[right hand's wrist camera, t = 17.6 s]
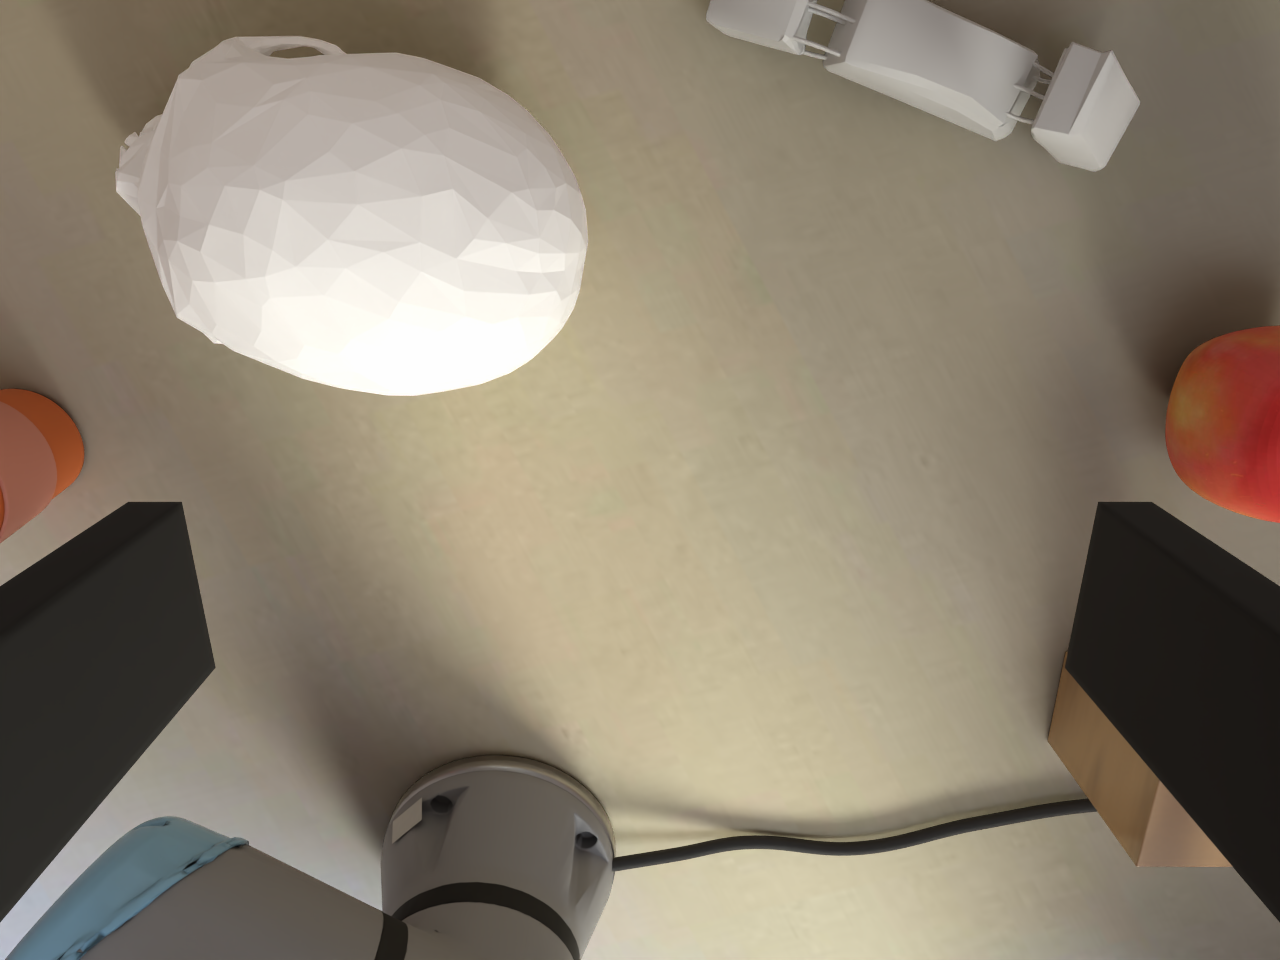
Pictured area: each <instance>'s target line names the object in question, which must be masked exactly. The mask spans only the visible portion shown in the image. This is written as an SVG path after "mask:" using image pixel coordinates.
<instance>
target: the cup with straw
mask: <svg viewBox="0 0 1280 960" xmlns="http://www.w3.org/2000/svg"><path fill="white" fill-rule="evenodd" d="M83 461H84V446H83V442H82V438H81V435H80V433H79V431H78V429H77V427H76V425H75V423H74V422H73V421H72V419H71V418H70V417H69V415H68V414H67V413H66V412H65V411H64V410H63V409H62V408H61V407H59V406H58V405H57V404H56V403H54V402H53V401H51V400H50V399H48V398H46V397H44V396H42V395H40V394H37V393H35V392H31V391H28V390H22V389H3V390H0V543H1V542H3V541H4V540H5V539H7V538H8V537H9V536H10V535H12V534H13V533H14V532H16V531H17V530H18V529H20V528H21V527H22V526H24V525H25V524H26V523H27V522H29V521H30V520H31V519H33V518H34V517H35V516H37V515H38V514H39V513H40V512H41V511H42V510H44V509H45V508H46V506H47V505H48V504H49V502H50V501H51V499H53V498H54V497H55V496H57V495H58V494H59V493H61V492H62V491H63V490H64V489H66V488H67V487H68V486H69V485H71V484H72V483H73V482H74V481H75V479H76V478H77V477H78V475H79V473H80V471H81V469H82V466H83Z"/></svg>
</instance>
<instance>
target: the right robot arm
mask: <svg viewBox="0 0 1280 960" xmlns="http://www.w3.org/2000/svg"><path fill="white" fill-rule="evenodd" d="M214 669H215V663H214V658H213V653H212V648H211V643H210V639H209V634H208V629H207V624H206V619H205V614H204V609H203V604H202V599H201V594H200V589H199V584H198V580H197V575H196V570H195V565H194V560H193V555H192V550H191V545H190V540H189V535H188V530H187V525H186V521H185V516H184V511H183V506H182V502H128V503H126V504H125V505H123V506H121V507H120V508H118V509H117V510H115V511H114V512H112V513H111V514H109V515H108V516H106V517H105V518H103V519H102V520H100V521H99V522H97V523H96V524H94V525H93V526H91V527H90V528H88V529H87V530H85V531H84V532H82V533H80V534H79V535H77V536H76V537H74V538H73V539H71V540H70V541H68V542H67V543H65V544H64V545H62V546H61V547H59V548H58V549H56V550H55V551H53V552H52V553H50V554H49V555H47V556H46V557H44V558H43V559H41V560H40V561H38V562H36V563H35V564H33V565H32V566H30V567H29V568H27V569H26V570H24V571H23V572H21V573H20V574H18V575H17V576H15V577H14V578H12V579H11V580H9V581H8V582H6V583H5V584H3V585H2V586H0V922H1V921H2V920H3V918H4V917H5V916H6V915H7V914H8V913H9V911H10V910H11V909H12V908H13V907H14V905H15V904H16V903H17V902H18V901H19V900H20V898H21V897H22V896H23V895H24V894H25V892H26V891H27V890H28V889H29V888H30V887H31V885H32V884H33V883H34V882H35V881H36V879H37V878H38V877H39V876H40V875H41V873H42V872H43V871H44V870H45V869H46V868H47V866H48V865H49V864H50V863H51V862H52V860H53V859H54V858H55V857H56V856H57V855H58V853H59V852H60V851H61V850H62V849H63V847H64V846H65V845H66V844H67V843H68V842H69V840H70V839H71V838H72V837H73V836H74V834H75V833H76V832H77V831H78V830H79V828H80V827H81V826H82V825H83V824H84V823H85V821H86V820H87V819H88V818H89V817H90V815H91V814H92V813H93V812H94V811H95V810H96V808H97V807H98V806H99V805H100V804H101V802H102V801H103V800H104V799H105V798H106V797H107V795H108V794H109V793H110V792H111V791H112V789H113V788H114V787H115V786H116V785H117V784H118V782H119V781H120V780H121V779H122V778H123V776H124V775H125V774H126V773H127V772H128V770H129V769H130V768H131V767H132V766H133V765H134V763H135V762H136V761H137V760H138V759H139V757H140V756H141V755H142V754H143V753H144V752H145V750H146V749H147V748H148V747H149V746H150V744H151V743H152V742H153V741H154V740H155V739H156V737H157V736H158V735H159V734H160V733H161V731H162V730H163V729H164V728H165V727H166V726H167V724H168V723H169V722H170V721H171V720H172V718H173V717H174V716H175V715H176V714H177V712H178V711H179V710H180V709H181V708H182V707H183V705H184V704H185V703H186V702H187V701H188V699H189V698H190V697H191V696H192V695H193V694H194V692H195V691H196V690H197V689H198V688H199V686H200V685H201V684H202V683H203V682H204V681H205V679H206V678H207V677H208V676H209V675H210V673H211V672H212V671H213V670H214ZM1065 669H1066V670H1067V671H1068V672H1069V673H1070V675H1071V676H1072V677H1073V678H1074V679H1075V681H1076V682H1077V683H1078V684H1079V685H1080V686H1081V688H1082V689H1083V690H1084V691H1085V692H1086V694H1087V695H1088V696H1089V697H1090V698H1091V699H1092V701H1093V702H1094V703H1095V704H1096V705H1097V707H1098V708H1099V709H1100V710H1101V711H1102V712H1103V714H1104V715H1105V716H1106V717H1107V718H1108V720H1109V721H1110V722H1111V723H1112V724H1113V726H1114V727H1115V728H1116V729H1117V730H1118V731H1119V733H1120V734H1121V735H1122V736H1123V737H1124V739H1125V740H1126V741H1127V742H1128V743H1129V744H1130V746H1131V747H1132V748H1133V749H1134V750H1135V752H1136V753H1137V754H1138V755H1139V756H1140V757H1141V759H1142V760H1143V761H1144V762H1145V763H1146V765H1147V766H1148V767H1149V768H1150V769H1151V770H1152V772H1153V773H1154V774H1155V775H1156V776H1157V778H1158V779H1159V780H1160V781H1161V782H1162V784H1163V785H1164V786H1165V787H1166V788H1167V789H1168V791H1169V792H1170V793H1171V794H1172V795H1173V797H1174V798H1175V799H1176V800H1177V801H1178V802H1179V804H1180V805H1181V806H1182V807H1183V808H1184V810H1185V811H1186V812H1187V813H1188V814H1189V815H1190V817H1191V818H1192V819H1193V820H1194V821H1195V823H1196V824H1197V825H1198V826H1199V827H1200V828H1201V830H1202V831H1203V832H1204V833H1205V834H1206V836H1207V837H1208V838H1209V839H1210V840H1211V842H1212V843H1213V844H1214V845H1215V846H1216V847H1217V849H1218V850H1219V851H1220V852H1221V853H1222V855H1223V856H1224V857H1225V858H1226V859H1227V860H1228V862H1229V863H1230V864H1231V865H1232V866H1233V868H1234V869H1235V870H1236V871H1237V872H1238V873H1239V875H1240V876H1241V877H1242V878H1243V879H1244V881H1245V882H1246V883H1247V884H1248V885H1249V887H1250V888H1251V889H1252V890H1253V891H1254V892H1255V894H1256V895H1257V896H1258V897H1259V898H1260V900H1261V901H1262V902H1263V903H1264V904H1265V905H1266V907H1267V908H1268V909H1269V910H1270V911H1271V913H1272V914H1273V915H1274V916H1275V917H1276V918H1277V920H1278V921H1279V922H1280V586H1278V585H1277V584H1275V583H1274V582H1272V581H1271V580H1269V579H1268V578H1266V577H1265V576H1263V575H1262V574H1260V573H1259V572H1257V571H1256V570H1254V569H1253V568H1251V567H1250V566H1248V565H1247V564H1245V563H1244V562H1242V561H1240V560H1239V559H1237V558H1236V557H1234V556H1233V555H1231V554H1230V553H1228V552H1227V551H1225V550H1224V549H1222V548H1221V547H1219V546H1218V545H1216V544H1215V543H1213V542H1212V541H1210V540H1209V539H1207V538H1206V537H1204V536H1203V535H1201V534H1200V533H1198V532H1196V531H1195V530H1193V529H1192V528H1190V527H1189V526H1187V525H1186V524H1184V523H1183V522H1181V521H1180V520H1178V519H1177V518H1175V517H1174V516H1172V515H1171V514H1169V513H1168V512H1166V511H1165V510H1163V509H1162V508H1160V507H1159V506H1157V505H1155V504H1154V503H1152V502H1098V506H1097V511H1096V516H1095V521H1094V525H1093V530H1092V535H1091V540H1090V545H1089V550H1088V555H1087V560H1086V565H1085V570H1084V575H1083V580H1082V584H1081V589H1080V594H1079V599H1078V604H1077V609H1076V614H1075V619H1074V624H1073V629H1072V634H1071V639H1070V643H1069V648H1068V653H1067V658H1066V663H1065ZM1096 811H1097V810H1096V809H1095V807H1094V806H1093V804H1092V803H1091V802H1090V800H1089V799H1080V800H1071V801H1063V802H1056V803H1049V804H1043V805H1037V806H1031V807H1025V808H1020V809H1014V810H1009V811H1004V812H998V813H993V814H988V815H983V816H977V817H972V818H967V819H962V820H958V821H953V822H949V823H945V824H941V825H937V826H933V827H929V828H926V829H922V830H918V831H914V832H910V833H906V834H902V835H898V836H893V837H888V838H882V839H876V840H869V841H859V842H823V841H813V840H804V839H796V838H788V837H778V836H737V837H728V838H721V839H716V840H711V841H706V842H702V843H697V844H693V845H688V846H683V847H677V848H671V849H665V850H659V851H653V852H647V853H641V854H634V855H628V856H622V857H615V853H616V848H615V838H614V833H613V829H612V826H611V823H610V821H609V819H608V816H607V814H606V813H605V811H604V809H603V808H602V806H601V805H600V803H599V802H598V801H597V799H596V798H595V797H594V796H593V795H592V794H591V793H590V792H589V791H588V790H587V789H586V788H585V787H584V786H583V785H582V784H580V783H579V782H578V781H576V780H575V779H574V778H572V777H570V776H569V775H567V774H565V773H564V772H562V771H560V770H558V769H556V768H554V767H551V766H549V765H546V764H544V763H541V762H537V761H534V760H531V759H526V758H521V757H514V756H504V755H486V756H476V757H470V758H465V759H461V760H457V761H454V762H451V763H448V764H446V765H443V766H441V767H439V768H437V769H435V770H433V771H431V772H429V773H428V774H426V775H425V776H423V777H422V778H421V779H419V780H418V781H417V782H415V783H414V784H413V785H412V786H411V787H410V788H409V789H408V790H407V792H406V793H405V794H404V795H403V796H402V798H401V799H400V801H399V803H398V804H397V806H396V808H395V810H394V812H393V815H392V817H391V820H390V823H389V825H388V828H387V831H386V834H385V837H384V842H383V849H382V855H381V883H382V909H383V912H382V911H381V910H378V909H376V908H374V907H372V906H370V905H368V904H366V903H364V902H362V901H360V900H358V899H356V898H354V897H352V896H350V895H348V894H346V893H344V892H342V891H340V890H338V889H336V888H334V887H332V886H330V885H327V884H325V883H323V882H321V881H319V880H317V879H315V878H313V877H311V876H309V875H307V874H305V873H303V872H301V871H299V870H297V869H295V868H293V867H291V866H289V865H287V864H285V863H283V862H281V861H279V860H277V859H275V858H273V857H271V856H269V855H267V854H265V853H263V852H261V851H259V850H257V849H255V848H253V847H251V846H249V841H247V840H245V839H243V838H236V837H234V838H229V837H226V836H224V835H221V834H219V833H217V832H214V831H212V830H210V829H207V828H205V827H202V826H200V825H198V824H195V823H193V822H191V821H188V820H186V819H183V818H179V817H172V816H167V817H159V818H155V819H152V820H149V821H146V822H144V823H142V824H140V825H139V826H137V827H135V828H134V829H132V830H131V831H129V832H128V833H126V834H125V835H124V836H123V837H121V838H120V839H119V840H118V841H116V842H115V843H114V844H113V845H112V846H111V847H109V848H108V849H107V850H106V851H105V852H104V853H103V854H102V855H101V856H100V857H99V858H98V859H97V860H96V861H95V862H94V863H93V864H92V865H90V866H89V867H88V868H87V869H86V870H85V871H84V872H83V873H82V874H81V875H80V876H79V877H78V879H77V880H76V881H75V882H74V883H73V884H72V885H71V886H70V887H69V888H68V889H67V890H66V891H65V892H64V893H63V894H62V895H61V896H60V897H59V899H58V900H57V901H56V902H55V903H54V904H53V905H52V906H51V907H50V908H49V909H48V910H47V912H46V913H45V914H44V915H43V916H42V917H41V918H40V919H39V920H38V922H37V923H36V924H35V925H34V926H33V927H32V928H31V929H30V931H29V932H28V933H27V934H26V935H25V936H24V937H23V939H22V940H21V941H20V942H19V943H18V944H17V946H16V947H15V948H14V949H13V950H12V952H11V953H10V954H9V955H8V957H7V958H6V959H5V960H581V958H582V956H583V953H584V951H585V949H586V947H587V945H588V943H589V940H590V938H591V936H592V934H593V932H594V929H595V927H596V925H597V923H598V921H599V918H600V916H601V914H602V912H603V910H604V907H605V905H606V903H607V901H608V898H609V895H610V891H611V887H612V884H613V879H614V874H615V871H620V870H626V869H632V868H639V867H645V866H651V865H657V864H663V863H669V862H675V861H681V860H686V859H691V858H696V857H700V856H705V855H709V854H714V853H719V852H725V851H731V850H741V849H775V850H786V851H794V852H802V853H810V854H820V855H838V856H841V855H863V854H873V853H880V852H886V851H892V850H897V849H902V848H906V847H910V846H914V845H918V844H922V843H926V842H930V841H933V840H937V839H941V838H945V837H949V836H953V835H957V834H962V833H966V832H971V831H976V830H982V829H987V828H992V827H998V826H1003V825H1008V824H1014V823H1019V822H1025V821H1030V820H1036V819H1042V818H1048V817H1055V816H1062V815H1069V814H1077V813H1086V812H1096Z"/></svg>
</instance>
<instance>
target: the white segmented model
mask: <svg viewBox="0 0 1280 960" xmlns="http://www.w3.org/2000/svg"><path fill="white" fill-rule="evenodd" d="M816 2H817V0H711V1H710V4H709V7H708V11H707V14H706V20H707V22H708V23H710V24H711V25H712V26H714V27H715V28H717V29H718V30H719V31H721V32H722V33H724V34H725V35H727V36H730V37H734V38H737V39H741V40H745V41H748V42H752V43H756V44H759V45H763V46H767V47H770V48H774V49H778V50H782V51H785V52H789V53H793V54H797V55H802V54H804V55H807V56H810V57H814V58H819V59H823V66H824V67H825V68H826V69H827V70H828V71H829V72H831V73H834V74H836V75H839V76H841V77H844V78H846V79H848V80H851V81H853V82H856V83H858V84H860V85H863V86H865V87H868V88H870V89H873V90H875V91H877V92H880V93H882V94H885V95H887V96H889V97H892V98H894V99H897V100H899V101H901V102H904V103H906V104H908V105H911V106H913V107H915V108H918V109H920V110H923V111H925V112H927V113H930V114H932V115H934V116H937V117H939V118H942V119H944V120H946V121H949V122H951V123H954V124H956V125H958V126H961V127H963V128H965V129H968V130H970V131H973V132H975V133H977V134H980V135H982V136H984V137H987V138H989V139H992V140H994V141H997V140H1000V139H1003V138H1005V137H1006V136H1008V135H1009V134H1011V133H1012V131H1013V129H1014V127H1015V125H1016V123H1017V121H1020V122H1024V123H1028V124H1032V127H1031V135H1032V137H1033V139H1034V140H1036V141H1037V142H1038V143H1039V144H1040V145H1042V146H1043V147H1044V148H1045V149H1046V150H1047V151H1048V152H1049V153H1050V154H1051V155H1052V156H1053V158H1054V159H1055V160H1056V161H1058V162H1060V163H1063V164H1066V165H1070V166H1074V167H1078V168H1082V169H1086V170H1090V171H1093V172H1095V171H1098V170H1100V169H1102V168H1104V167H1105V166H1106V165H1107V163H1108V161H1109V159H1110V157H1111V156H1112V154H1113V152H1114V150H1115V148H1116V147H1117V145H1118V143H1119V141H1120V139H1121V138H1122V136H1123V134H1124V132H1125V130H1126V129H1127V127H1128V125H1129V123H1130V121H1131V119H1132V118H1133V116H1134V114H1135V112H1136V110H1137V109H1138V107H1139V105H1140V101H1139V98H1138V96H1137V94H1136V92H1135V91H1134V89H1133V88H1132V86H1131V84H1130V83H1129V81H1128V79H1127V78H1126V76H1125V74H1124V72H1123V70H1122V68H1121V66H1120V64H1119V62H1118V60H1117V58H1116V56H1115V54H1114V52H1113V50H1111V51H1106V52H1100V51H1097V50H1095V49H1092V48H1089V47H1086V46H1083V45H1081V44H1078V43H1075V42H1072V43H1071V44H1070V46H1069V48H1065V49H1064V51H1063V53H1062V56H1061V58H1060V60H1059V63H1058V65H1057V68H1056V70H1055V72H1054V73H1053V72H1052V71H1050V70H1048V69H1046V68H1045V67H1043V66H1041V65H1039V61H1038V59H1037V58H1038V55H1037V54H1036V53H1035V52H1034V51H1033V50H1031V49H1029V48H1027V47H1025V46H1023V45H1021V44H1019V43H1017V42H1015V41H1013V40H1011V39H1009V38H1007V37H1005V36H1003V35H1001V34H999V33H997V32H995V31H993V30H991V29H989V28H986V27H984V26H982V25H980V24H978V23H975V22H973V21H971V20H969V19H967V18H964V17H962V16H960V15H958V14H955V13H953V12H951V11H949V10H947V9H944V8H942V7H940V6H938V5H936V4H934V3H932V2H930V1H928V0H845V1H844V4H843V7H842V9H841V12H840V13H839V12H837V11H835V10H833V9H831V8H828V7H825V6H822V5H819V4H816ZM826 12H827V13H826ZM813 13H814V14H817V15H820V16H823V17H826V18H828V19H830V20H833V21H835V22H837V23H836V25H835V28H834V31H833V34H832V36H831V39H830V42H829V44H828V47H826V46H823V45H821V44H818V43H815V42H813V41H810V40H807V39H806V35H807V31H808V28H809V24H810V21H811V18H812V15H813ZM829 13H830V14H829ZM831 14H832V15H831ZM806 45H809V46H812V47H815V48H818V49H820V50H823V51H825V55H822V54H817V53H813V52H810V51H807V50H805V46H806ZM1040 71H1041V72H1043V73H1045V74H1047V75H1048V76H1050V77H1052V79H1051V80H1047V79H1043V78H1040ZM1037 82H1041V83H1044V84H1049V87H1048V89H1047V91H1046V94H1045V96H1044V95H1042V94H1040V93H1037V92H1035V91H1033V90H1034V88H1035V86H1036V84H1037ZM1030 95H1032V96H1035V97H1037V98H1039V99H1041V100H1043V101H1042V103H1041V106H1040V108H1039V111H1038V113H1037V115H1036V118H1035V120H1031V119H1027V118H1023V117H1020V115H1021V113H1022V111H1023V109H1024V107H1025V105H1026V103H1027V101H1028V99H1029V97H1030Z"/></svg>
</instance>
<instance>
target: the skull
mask: <svg viewBox="0 0 1280 960" xmlns="http://www.w3.org/2000/svg"><path fill="white" fill-rule="evenodd" d="M302 46H306V47H313V48H315V49H316V50H318V51H319V52H321V53H322V54H324V55H317V56H311V57H301V58H289V59H287V58H279V57H271V56H270V55H271V54H272V53H273V52H274V51H279V50H285V49H291V48H296V47H302ZM125 144H126V145H127V146H130V147H129V148H128V149H127V150H126V149H125V148H124V147H123V146H120V160H119V169H118V168H116V170H117V171H116V172H115V176H116V192H117V193H118V194H119V195H120V196H121V197H122V198H123V199H124V200H125V201H126V202H127V203H128V204H129V205H130V206H131V207H132V208H133V209H134V210H135V211H136V212H137V213H138V214H139V215H140V216H141V221H142V226H143V229H144V232H145V236H146V239H147V242H148V245H149V248H150V251H151V254H152V256H153V259H154V262H155V265H156V268H157V271H158V274H159V277H160V280H161V282H162V285H163V288H164V290H165V292H166V294H167V297H168V299H169V301H170V303H171V306H172V308H173V310H174V312H175V315H176V317H177V318H178V319H180V320H182V321H184V322H185V323H187V324H189V325H190V326H192V327H194V328H196V329H197V330H199V331H201V332H202V333H203V334H205V335H206V336H207V337H208V338H209V339H210V340H211V341H212V342H213V343H217V344H224V345H225V346H227V347H228V348H230V349H231V350H233V351H235V352H237V353H240V354H242V355H245V356H247V357H250V358H252V359H255V360H257V361H260V362H262V363H265V364H267V365H270V366H272V367H275V368H277V369H280V370H282V371H285V372H287V373H290V374H292V375H295V376H297V377H300V378H302V379H306V380H310V381H314V382H318V383H322V384H326V385H329V386H333V387H338V388H343V389H349V390H355V391H362V392H368V393H375V394H382V395H403V396H416V395H422V394H429V393H436V392H443V391H448V390H453V389H458V388H464V387H469V386H474V385H479V384H482V383H485V382H488V381H490V380H493V379H496V378H498V377H501V376H504V375H507V374H509V373H511V372H512V371H514V370H515V369H517V368H519V367H520V366H522V365H523V364H525V363H527V362H528V361H530V360H531V359H533V358H534V357H535V356H536V355H537V354H538V353H539V352H540V351H541V350H542V349H543V348H544V347H545V346H546V345H547V344H548V343H549V342H550V341H551V340H552V339H553V338H554V337H555V336H556V335H557V334H558V333H559V331H560V330H561V329H562V328H563V326H564V325H565V323H566V321H567V319H568V318H569V316H570V314H571V312H572V311H573V309H574V307H575V304H576V300H577V297H578V294H579V291H580V286H581V280H582V274H583V268H584V262H585V257H586V251H587V246H588V232H587V218H586V209H585V205H584V202H583V198H582V194H581V191H580V189H579V186H578V183H577V180H576V177H575V175H574V173H573V171H572V170H571V168H570V166H569V164H568V163H567V161H566V159H565V157H564V156H563V154H562V152H561V151H560V149H559V148H558V146H557V145H556V143H555V142H554V140H553V139H552V137H551V136H550V134H549V133H548V132H547V131H546V130H545V129H544V128H543V127H542V126H541V125H540V123H539V122H538V121H537V120H536V119H535V118H534V117H533V116H532V115H531V114H530V113H529V112H528V111H527V110H526V109H525V108H524V107H523V106H521V105H520V104H519V103H518V102H517V101H515V100H514V99H513V98H512V97H511V96H509V95H508V94H506V93H504V92H503V91H501V90H499V89H498V88H496V87H494V86H493V85H491V84H489V83H488V82H486V81H484V80H482V79H481V78H479V77H476V76H473V75H471V74H468V73H465V72H462V71H459V70H457V69H454V68H451V67H448V66H445V65H443V64H440V63H437V62H434V61H431V60H428V59H425V58H422V57H416V56H411V55H406V54H401V53H363V54H346V53H345V52H343V51H342V50H341V49H340V48H339V47H338V46H336V45H334V44H331V43H329V42H326V41H323V40H320V39H315V38H309V37H303V36H257V37H233V38H230V39H227V40H224V41H222V42H221V43H219V44H218V45H217V46H216V47H214V48H213V49H211V50H210V51H208V52H207V53H205V54H203V55H202V56H200V57H199V58H197V59H196V60H194V61H193V62H192V63H191V65H190V66H189V68H188V69H186V70H185V71H183V72H182V73H181V74H179V75H178V79H177V81H176V83H175V86H174V88H173V90H172V93H171V95H170V97H169V100H168V102H167V104H166V107H165V109H164V111H163V114H162V115H158V116H156V117H154V118H153V119H152V120H150V121H149V122H148V123H147V124H146V125H145V127H144V128H143V130H142V132H140V135H139V137H138V135H137V134H136V132H134V133H132V134H131V135H129V136H128V137H127V138H126V140H125Z"/></svg>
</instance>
